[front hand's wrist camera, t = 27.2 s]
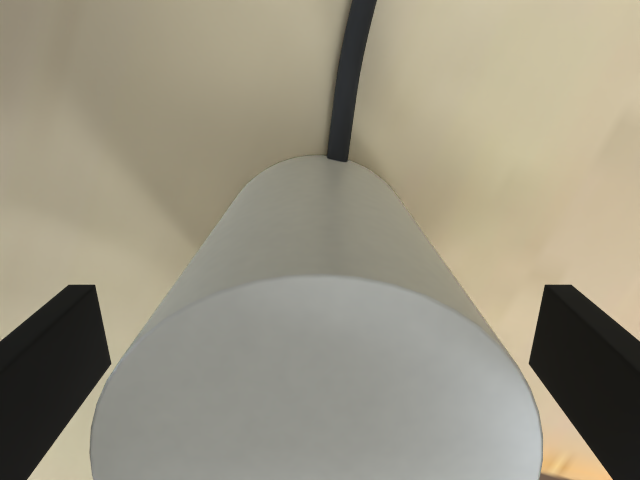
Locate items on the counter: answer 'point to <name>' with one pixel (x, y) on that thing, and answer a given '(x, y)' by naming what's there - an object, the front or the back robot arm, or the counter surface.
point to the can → (316, 352)
